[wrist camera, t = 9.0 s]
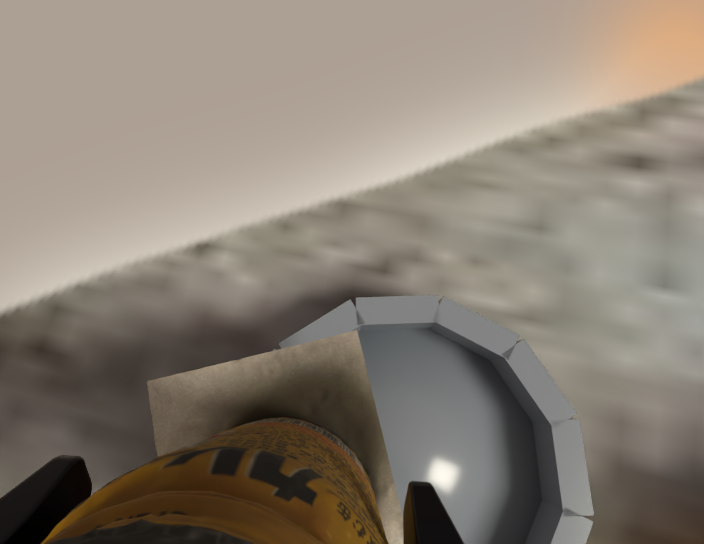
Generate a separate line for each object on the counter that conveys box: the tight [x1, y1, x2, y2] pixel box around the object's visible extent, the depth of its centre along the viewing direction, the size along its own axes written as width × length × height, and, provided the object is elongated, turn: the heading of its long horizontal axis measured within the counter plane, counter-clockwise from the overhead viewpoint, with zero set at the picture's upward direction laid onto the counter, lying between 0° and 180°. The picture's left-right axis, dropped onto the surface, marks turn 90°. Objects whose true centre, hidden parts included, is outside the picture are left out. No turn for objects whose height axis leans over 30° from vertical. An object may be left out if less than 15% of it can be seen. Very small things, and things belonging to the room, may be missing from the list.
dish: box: [272, 295, 594, 544], centre depth 20 cm, size 14×14×3 cm
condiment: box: [40, 330, 403, 544], centre depth 9 cm, size 7×8×12 cm
